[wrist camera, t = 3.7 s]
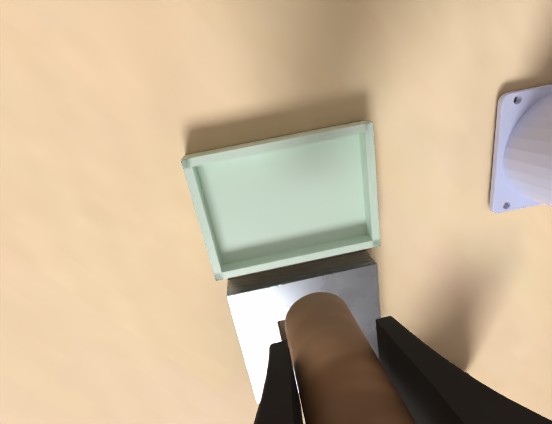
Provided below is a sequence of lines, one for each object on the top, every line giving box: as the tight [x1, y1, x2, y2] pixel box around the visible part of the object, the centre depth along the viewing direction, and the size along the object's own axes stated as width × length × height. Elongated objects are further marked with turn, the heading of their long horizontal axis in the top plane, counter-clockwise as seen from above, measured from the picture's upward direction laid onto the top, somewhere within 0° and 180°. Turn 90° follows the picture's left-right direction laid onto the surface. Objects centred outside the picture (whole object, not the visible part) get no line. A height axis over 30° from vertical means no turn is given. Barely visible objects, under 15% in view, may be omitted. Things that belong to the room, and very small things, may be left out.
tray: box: [181, 120, 380, 281], centre depth 20 cm, size 11×8×2 cm
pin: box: [285, 292, 416, 424], centre depth 11 cm, size 4×4×9 cm
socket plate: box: [227, 250, 380, 403], centre depth 23 cm, size 10×10×2 cm
